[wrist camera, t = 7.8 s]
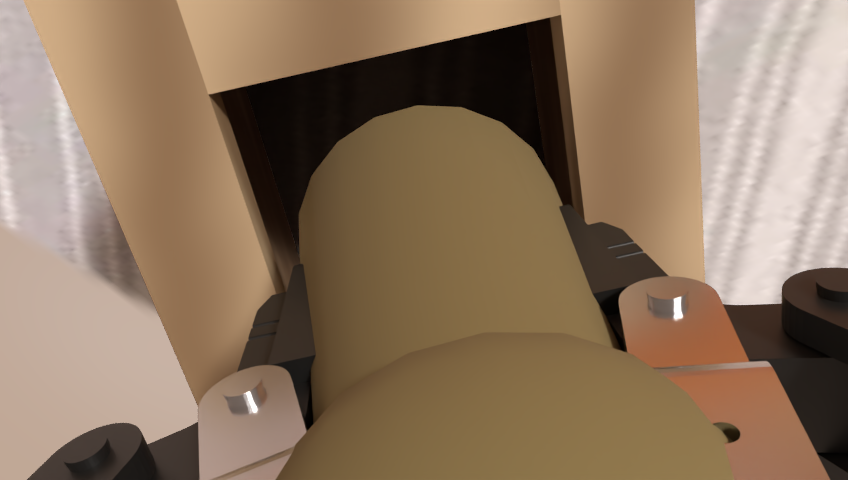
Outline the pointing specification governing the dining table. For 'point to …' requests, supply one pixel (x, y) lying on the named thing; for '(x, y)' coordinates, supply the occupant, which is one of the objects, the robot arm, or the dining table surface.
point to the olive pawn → (469, 323)
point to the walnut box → (330, 46)
